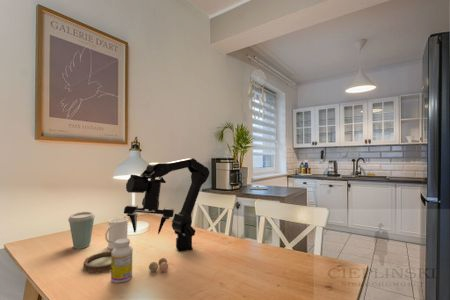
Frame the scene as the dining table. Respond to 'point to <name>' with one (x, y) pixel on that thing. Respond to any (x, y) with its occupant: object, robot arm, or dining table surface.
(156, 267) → the bead maple
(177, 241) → the robot arm
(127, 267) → the supplement bottle
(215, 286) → the dining table surface
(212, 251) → the dining table surface
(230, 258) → the dining table surface
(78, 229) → the disposable coffee cup
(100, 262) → the faceted wooden bowl
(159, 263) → the bead honey
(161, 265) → the pinkish tan ball
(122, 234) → the mug
